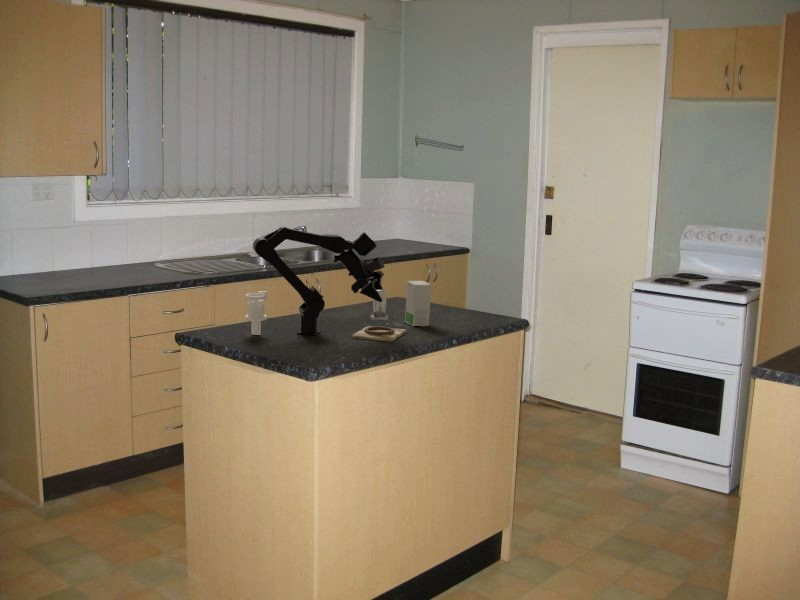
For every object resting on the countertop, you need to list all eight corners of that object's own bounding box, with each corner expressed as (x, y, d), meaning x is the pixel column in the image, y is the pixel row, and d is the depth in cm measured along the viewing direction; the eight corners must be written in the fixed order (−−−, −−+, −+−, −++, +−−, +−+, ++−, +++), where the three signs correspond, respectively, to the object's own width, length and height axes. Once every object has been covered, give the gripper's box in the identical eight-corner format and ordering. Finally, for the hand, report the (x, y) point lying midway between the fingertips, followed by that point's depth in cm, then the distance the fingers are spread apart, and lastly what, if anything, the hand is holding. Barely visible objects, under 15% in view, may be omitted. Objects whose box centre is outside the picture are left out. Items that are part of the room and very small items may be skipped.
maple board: (391, 341, 299) (391, 336, 298) (352, 337, 303) (352, 332, 303) (405, 332, 314) (405, 326, 313) (367, 328, 318) (368, 323, 318)
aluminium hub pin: (384, 321, 304) (385, 292, 302) (368, 319, 305) (368, 290, 303) (390, 317, 309) (391, 289, 307) (373, 316, 311) (374, 287, 309)
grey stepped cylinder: (266, 337, 300) (266, 293, 297) (245, 337, 299) (245, 293, 296) (266, 332, 307) (266, 289, 304) (245, 332, 306) (245, 289, 303)
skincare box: (404, 322, 330) (405, 280, 327) (420, 321, 332) (422, 280, 330) (413, 327, 322) (415, 284, 319) (430, 326, 325) (432, 283, 322)
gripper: (361, 253, 295) (391, 289, 294) (379, 247, 313) (408, 281, 312) (338, 275, 299) (368, 310, 298) (357, 267, 317) (386, 301, 315)
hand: (383, 300), depth 306 cm, fingers closed on aluminium hub pin, 4 cm apart
